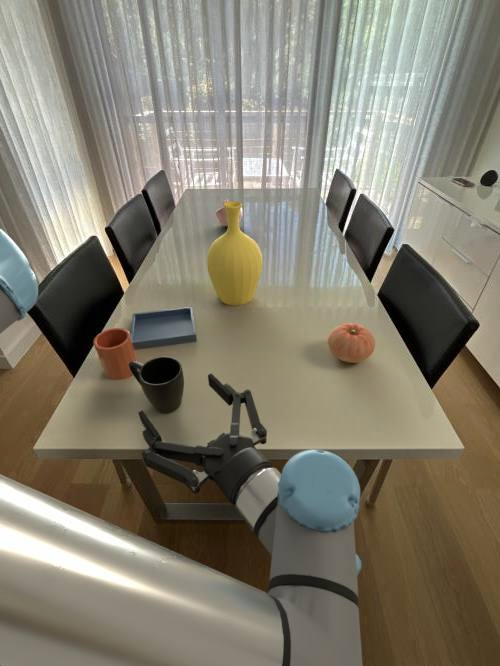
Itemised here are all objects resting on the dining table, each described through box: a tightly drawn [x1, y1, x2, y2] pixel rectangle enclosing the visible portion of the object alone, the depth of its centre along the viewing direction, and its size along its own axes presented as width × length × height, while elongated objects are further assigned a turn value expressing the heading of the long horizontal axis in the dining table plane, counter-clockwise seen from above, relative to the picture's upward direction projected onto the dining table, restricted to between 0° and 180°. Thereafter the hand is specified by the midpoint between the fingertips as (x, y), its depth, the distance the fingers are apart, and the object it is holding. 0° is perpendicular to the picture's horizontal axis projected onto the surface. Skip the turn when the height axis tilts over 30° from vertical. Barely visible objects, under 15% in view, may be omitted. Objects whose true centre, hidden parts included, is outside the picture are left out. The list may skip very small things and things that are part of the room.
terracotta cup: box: [93, 327, 139, 381], centre depth 77 cm, size 8×8×9 cm
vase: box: [206, 201, 263, 306], centre depth 96 cm, size 16×16×28 cm
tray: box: [130, 306, 198, 351], centre depth 90 cm, size 16×13×2 cm
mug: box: [129, 356, 185, 415], centre depth 69 cm, size 8×12×10 cm
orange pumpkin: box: [327, 322, 376, 364], centre depth 80 cm, size 11×11×8 cm
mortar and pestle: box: [215, 199, 244, 228], centre depth 151 cm, size 12×12×11 cm
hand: (177, 396), depth 60 cm, fingers open, 13 cm apart
